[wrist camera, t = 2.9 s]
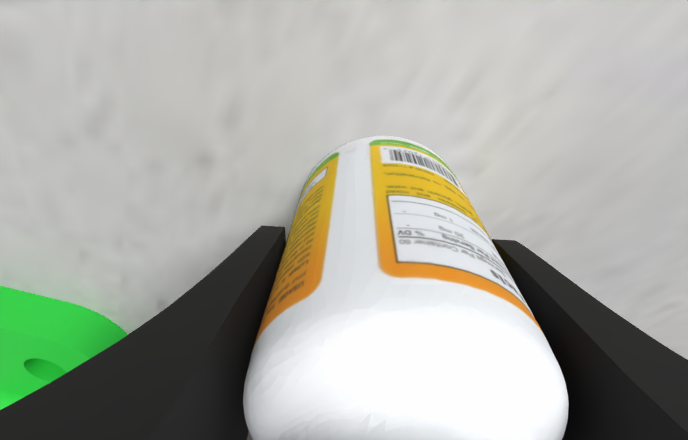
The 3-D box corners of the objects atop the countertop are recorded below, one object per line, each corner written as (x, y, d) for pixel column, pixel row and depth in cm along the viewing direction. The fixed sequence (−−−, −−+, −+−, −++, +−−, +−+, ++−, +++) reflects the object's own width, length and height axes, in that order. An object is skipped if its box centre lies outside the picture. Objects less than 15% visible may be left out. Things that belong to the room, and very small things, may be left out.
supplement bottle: (332, 279, 13) (287, 705, 5) (275, 160, 11) (-2, 663, 2) (468, 248, 12) (682, 731, 4) (444, 107, 10) (942, 712, 1)
